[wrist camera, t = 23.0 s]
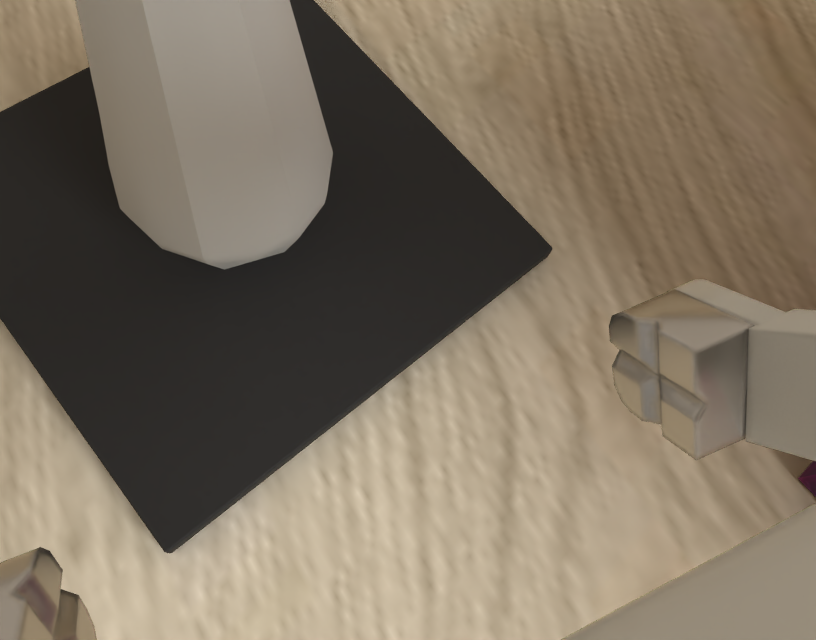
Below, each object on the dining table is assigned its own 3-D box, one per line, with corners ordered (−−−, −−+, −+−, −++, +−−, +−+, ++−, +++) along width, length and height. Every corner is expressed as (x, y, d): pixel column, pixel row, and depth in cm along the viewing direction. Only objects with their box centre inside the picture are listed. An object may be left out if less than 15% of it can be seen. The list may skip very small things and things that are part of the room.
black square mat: (170, 554, 17) (165, 553, 17) (-96, 177, 20) (-108, 165, 19) (548, 256, 21) (553, 247, 21) (284, -19, 24) (283, -33, 24)
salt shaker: (94, 202, 20) (-281, -388, 8) (241, 96, 22) (128, -511, 10) (229, 334, 19) (45, -103, 7) (371, 211, 21) (429, -305, 9)
